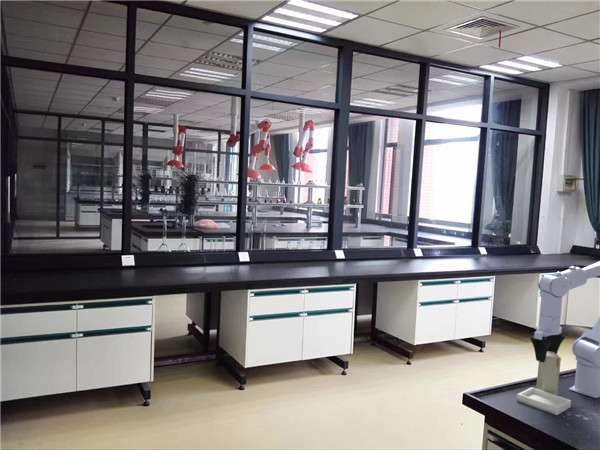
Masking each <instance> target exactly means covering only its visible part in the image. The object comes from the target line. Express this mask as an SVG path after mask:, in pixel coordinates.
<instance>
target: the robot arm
mask: <svg viewBox="0 0 600 450" xmlns="http://www.w3.org/2000/svg"><path fill="white" fill-rule="evenodd" d="M599 276H600V260H599V261H597V262H595V263H592V264H589V265H587V266H585V267H583V268H582V267H579V266H574V265H571V266H568V269H566V270H563V271H557V272H555V274H553V275H552V274H545V275H543V276H542V277H541V278H540V279H539V282H537V289H538V290H539V292H540V294H539V296H540V305H539V306H540V307H539V316H538V317H539V318H538V325H535V326H534V327H533V328H534V329H535V330H536V331H534V335H531V336H530V337H529V338H530V341H531V344H532V346H533V349H534V354H535V361H537V362H539V361H540V362H544V361H545V359H546V354H547V351H550V352H555V353H556V354H557V355H558V351H559V349H560V346H561V344H562V343H563V341H564V340H565V339H566V335H565V334H562V333H563V331H562V330H563V327H562V326H561V317H562V307H563V305H562V304H563V298H564V297H565V295H567V293H568V292H569V291H570V290H573V289H576V288H579V287H581V286H584V285H585V284H587V282H588V280H589V279H593V278H595V277H599ZM571 348H572V349H571V350H572V354H573V355H574V356H575V361H576V364H575V365H576V368H575V377H574V385H573V386H571V387H569V388H568V390H570V391H573V392H575V393H579V394H582V395H585V396H588V397H591V398H594V399H599V398H600V316H599V317H598V319H597V321H596V322H595V324H594V325H593V327H592V329H590V330H589V331H585V332H583V333H581V336H580V337H579V338H577V339H576V340H575V341H574V342H573V343H572V346H571Z"/></svg>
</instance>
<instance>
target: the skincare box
mask: <svg viewBox="0 0 600 450" xmlns="http://www.w3.org/2000/svg"><path fill="white" fill-rule="evenodd" d="M561 360H562V357H560V356H559V355H558V353H557V354H556V353H555V352H550V351H547V354H546V359H545V361H544V362H540V361H538V368H537V376H536V377H537V378H536V387H535V388H536V389H539V390H542V391H545V392H548V393H551V394H554V395H557V396H558V393H559V392H558V391H559V383H560V382H559V381H560V380H559V379H560V370H561Z"/></svg>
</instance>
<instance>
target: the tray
mask: <svg viewBox="0 0 600 450" xmlns="http://www.w3.org/2000/svg"><path fill="white" fill-rule="evenodd" d="M516 401H517V402H520V403H522V404H525V405H528V406H530V407H532V408H536V409H538V410H542V411H544V412H546V413H550V414H553V415H554V416H555V415H556V416H558V415H560V414H562V413H563V412H565V411H567V410H568V409H569V408H571V405H572V400H571V399H569V398H565V397H563V396H559V395H558V394H557V395H554V394H551V393H548V392H545V391H542V390H539V389H536V387H533V386H532V387H529V388H527V389H525V390H523V391H521V392H519V393H517V394H516Z"/></svg>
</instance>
